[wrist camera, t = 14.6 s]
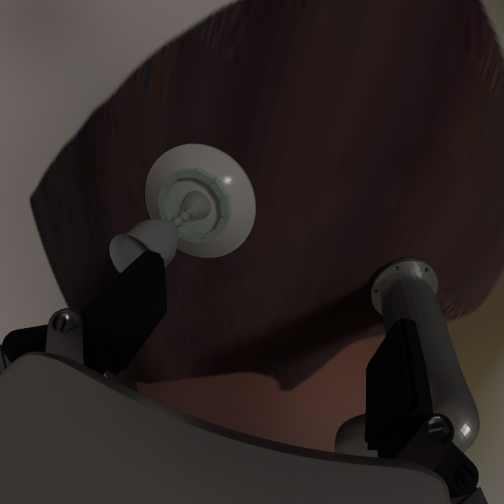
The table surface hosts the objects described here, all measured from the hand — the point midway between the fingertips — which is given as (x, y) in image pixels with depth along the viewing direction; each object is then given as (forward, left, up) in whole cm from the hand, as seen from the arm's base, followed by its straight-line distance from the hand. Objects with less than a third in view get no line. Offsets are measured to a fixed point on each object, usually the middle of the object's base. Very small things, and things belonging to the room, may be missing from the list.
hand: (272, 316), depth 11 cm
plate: (+3, +20, -32) cm, 38 cm away
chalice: (+3, +20, -32) cm, 38 cm away
